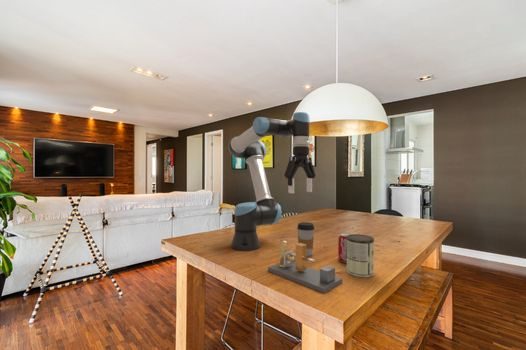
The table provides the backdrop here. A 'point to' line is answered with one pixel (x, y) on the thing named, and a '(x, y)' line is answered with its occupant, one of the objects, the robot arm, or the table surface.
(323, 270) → the block
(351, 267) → the coffee can
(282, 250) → the brass round knobbed piece
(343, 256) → the soda can
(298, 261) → the wooden handled lever
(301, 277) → the board
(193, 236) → the table surface
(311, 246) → the coffee cup
